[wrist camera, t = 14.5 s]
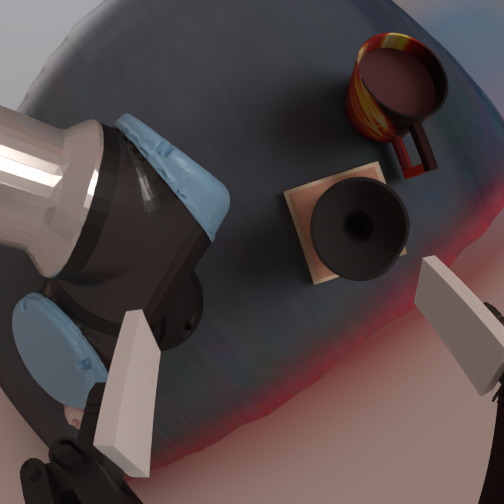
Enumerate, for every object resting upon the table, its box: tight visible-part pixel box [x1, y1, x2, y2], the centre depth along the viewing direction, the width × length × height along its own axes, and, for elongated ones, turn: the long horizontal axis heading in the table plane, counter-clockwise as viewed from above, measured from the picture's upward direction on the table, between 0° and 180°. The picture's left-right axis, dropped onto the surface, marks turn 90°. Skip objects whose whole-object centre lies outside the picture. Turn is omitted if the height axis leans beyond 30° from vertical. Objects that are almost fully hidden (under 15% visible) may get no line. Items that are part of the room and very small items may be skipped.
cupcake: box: [64, 405, 84, 429], centre depth 44 cm, size 9×9×10 cm
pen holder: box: [310, 177, 410, 281], centre depth 32 cm, size 9×9×10 cm
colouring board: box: [283, 161, 407, 285], centre depth 37 cm, size 12×12×1 cm
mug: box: [344, 33, 448, 179], centre depth 29 cm, size 10×14×12 cm
